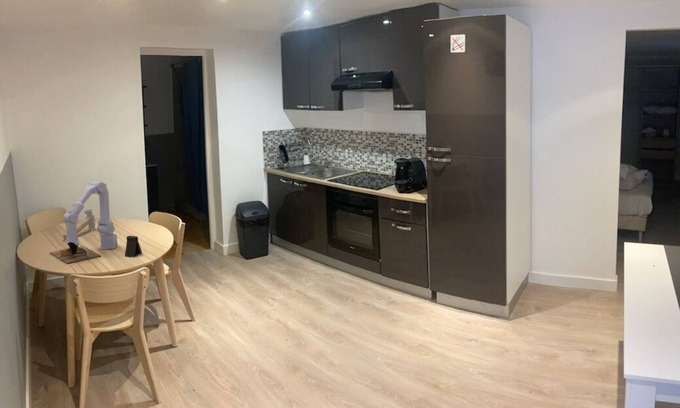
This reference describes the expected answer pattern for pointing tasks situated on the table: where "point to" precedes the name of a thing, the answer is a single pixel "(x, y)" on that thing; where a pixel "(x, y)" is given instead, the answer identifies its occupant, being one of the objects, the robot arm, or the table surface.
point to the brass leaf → (67, 251)
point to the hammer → (85, 222)
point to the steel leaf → (83, 251)
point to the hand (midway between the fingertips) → (74, 253)
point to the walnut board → (75, 256)
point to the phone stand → (132, 247)
